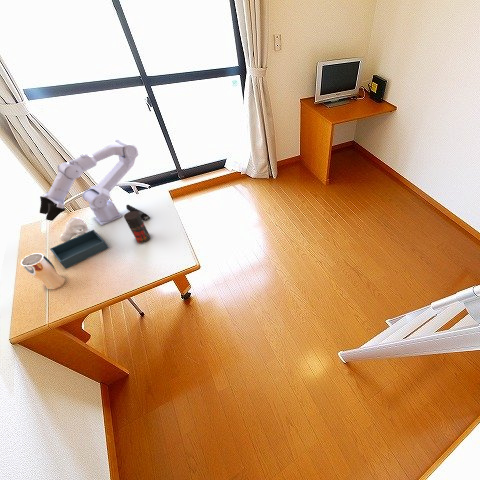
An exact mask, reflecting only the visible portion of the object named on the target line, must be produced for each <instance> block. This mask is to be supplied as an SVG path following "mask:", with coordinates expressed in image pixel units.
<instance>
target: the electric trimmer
mask: <svg viewBox="0 0 480 480" xmlns="http://www.w3.org/2000/svg"><path fill="white" fill-rule="evenodd" d="M125 207H126V210H127V211H128V212H131V211H137V212H138V213H139V214H140V216H141V219H142V221H143V222H147V221H148V220H150V219H151V217H150V215H149V214H147V213H146V212H145V211H141V210H140V209H138V208H136V207H133V206H132V205H130V204H126V206H125Z"/></svg>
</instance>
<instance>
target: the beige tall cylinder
mask: <svg viewBox="0 0 480 480" xmlns="http://www.w3.org/2000/svg"><path fill="white" fill-rule="evenodd" d="M20 265H21V267H23V268H24V269H25V271H26V272H27V273H29V275H31V276H32V277H34V278H35V279H37V280H39V281H40V282H42V283H43V285H44V286H45V287H46V289H48V290H56V289H59V288H61V287H62V286H63V285H64V284H65V281H66V279H65V278H64V277H63V276H61V275H60V274H59V273H58V272H57V270H56V267H55V266H54V264H53V263H52V262H51V260H50V259H48V258H47V256H45V255H44V254H43V253H41V252H34V253H31V254H29V255H26V256H24V258H22V259H21V261H20Z"/></svg>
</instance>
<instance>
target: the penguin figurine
mask: <svg viewBox="0 0 480 480" xmlns="http://www.w3.org/2000/svg"><path fill="white" fill-rule="evenodd" d="M87 232H88V225H87V223H86V222H85V221H84V220H83V218H81V217H78V216H73V217H71V218H70V219H68V220H67V221H66V223H65V226H64V229H63V233H61V235H59V240H60V241H61V242H62V243H64V242H66V241H69V240H71V239H73V238H74V237H77V235H78V236H79V235H82V234H84V233H87Z"/></svg>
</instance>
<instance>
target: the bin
mask: <svg viewBox="0 0 480 480" xmlns="http://www.w3.org/2000/svg"><path fill="white" fill-rule="evenodd" d="M108 249H109V246H108V244H107V242H106V241H105V240H104V239H103V237H101V235H99V233H98V232H97V231H96V230H95V229H91V230H89V231H87V233H82V234H79V235H78V236H74V237H72V238H71V239H70V240H69V241H66V242H61V243H59V244H57V245H55V246H53V247H51V248H49V250H50V251H51V253H52V254H53V256H55V258H56V259H57V261H58V262H59V263H60V264H61V265H62V266H63V268H64V269H65V270H67V269H68V268H71V267H73V266H74V265H77V264H78V263H79V264H80V263H81V262H83V261H85V260H87V259H89V258H91V257H93V256H96V255H97V254H99V253H102V252H103V251H106V250H108Z"/></svg>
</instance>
